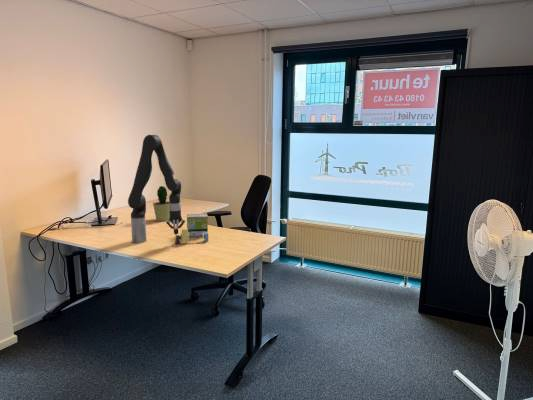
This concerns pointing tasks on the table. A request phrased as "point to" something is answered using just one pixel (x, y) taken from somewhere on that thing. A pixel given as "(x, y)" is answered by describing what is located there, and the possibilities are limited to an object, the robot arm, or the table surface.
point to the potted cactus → (162, 205)
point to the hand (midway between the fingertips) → (176, 234)
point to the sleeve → (185, 235)
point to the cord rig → (203, 235)
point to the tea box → (197, 224)
